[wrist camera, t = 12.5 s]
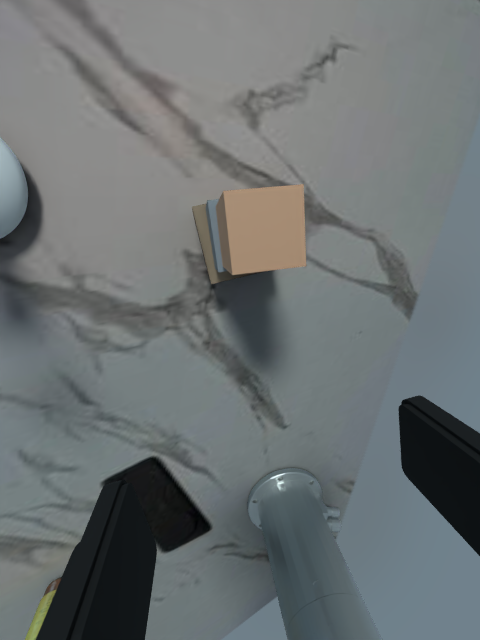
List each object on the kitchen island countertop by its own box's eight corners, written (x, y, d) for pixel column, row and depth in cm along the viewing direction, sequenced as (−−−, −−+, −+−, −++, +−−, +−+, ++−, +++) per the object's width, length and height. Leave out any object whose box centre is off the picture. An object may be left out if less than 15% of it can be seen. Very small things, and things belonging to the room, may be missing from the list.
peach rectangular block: (272, 201, 23) (303, 184, 17) (276, 260, 25) (306, 266, 18) (215, 206, 23) (223, 191, 16) (222, 266, 24) (232, 275, 17)
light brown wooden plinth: (258, 197, 32) (268, 190, 28) (270, 264, 34) (281, 267, 30) (192, 211, 31) (192, 206, 27) (209, 279, 34) (211, 284, 29)
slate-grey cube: (262, 200, 28) (276, 192, 23) (268, 259, 30) (282, 262, 25) (205, 208, 27) (207, 200, 22) (214, 267, 29) (218, 272, 24)
